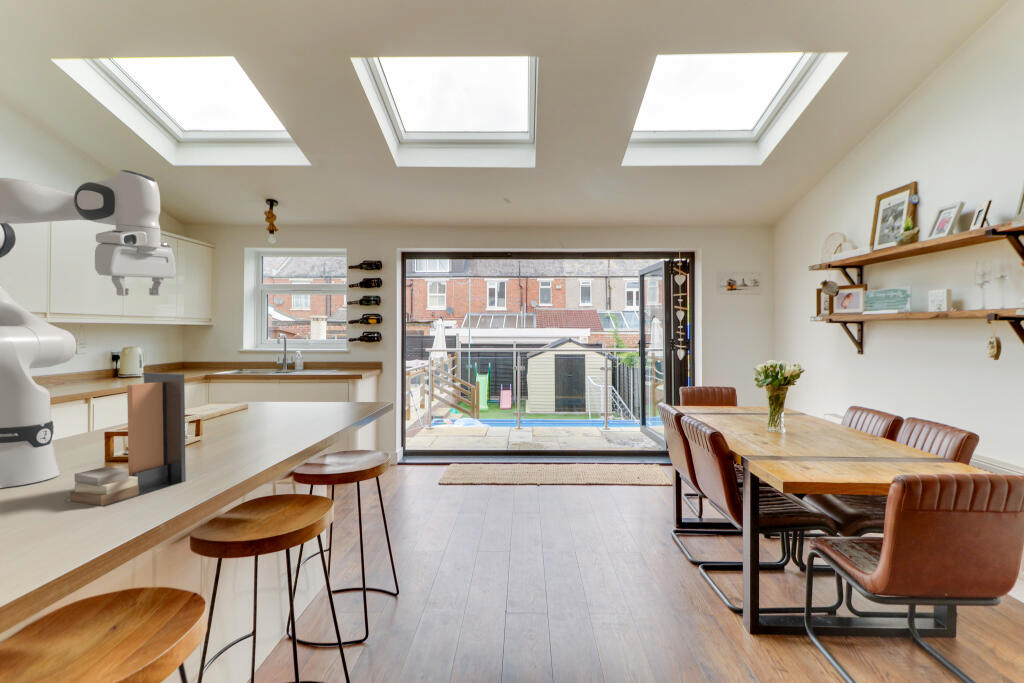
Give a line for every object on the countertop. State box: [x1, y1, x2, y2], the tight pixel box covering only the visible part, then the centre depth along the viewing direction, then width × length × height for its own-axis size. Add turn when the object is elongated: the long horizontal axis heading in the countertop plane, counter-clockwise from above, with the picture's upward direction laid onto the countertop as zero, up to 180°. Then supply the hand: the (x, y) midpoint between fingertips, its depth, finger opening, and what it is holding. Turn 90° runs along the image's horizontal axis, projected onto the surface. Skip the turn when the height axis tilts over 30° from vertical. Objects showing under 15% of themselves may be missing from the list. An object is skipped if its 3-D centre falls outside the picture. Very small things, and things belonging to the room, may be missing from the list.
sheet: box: [126, 382, 164, 476], centre depth 116 cm, size 7×2×24 cm, turn 162°
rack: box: [65, 372, 187, 508], centre depth 112 cm, size 18×12×28 cm, turn 162°
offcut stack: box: [69, 466, 139, 507], centre depth 108 cm, size 8×10×6 cm
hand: (139, 295), depth 123 cm, fingers open, 8 cm apart
